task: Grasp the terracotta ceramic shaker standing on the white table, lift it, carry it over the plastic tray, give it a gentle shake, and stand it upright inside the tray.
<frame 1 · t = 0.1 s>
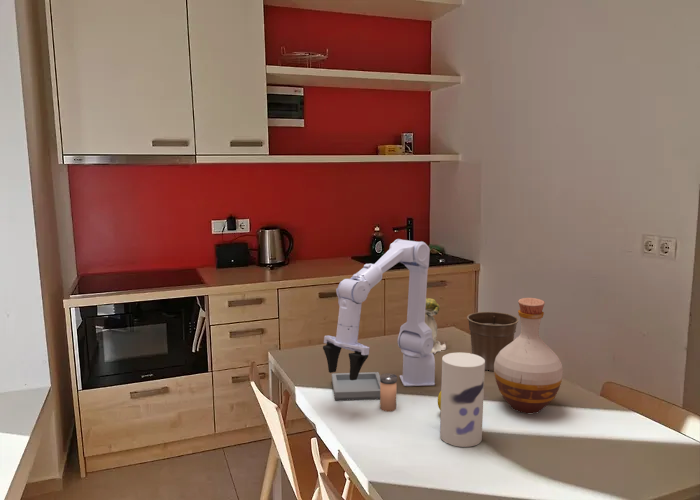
hand: (342, 375, 149), 11 cm above the table, tool pointing down, fingers open, 7 cm apart
shaker: (388, 408, 154), on the table
tray: (357, 389, 166), on the table
jug: (525, 406, 155), on the table
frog: (427, 349, 203), on the table
plant pot: (490, 365, 187), on the table
lemon: (447, 416, 149), on the table
container: (460, 438, 137), on the table
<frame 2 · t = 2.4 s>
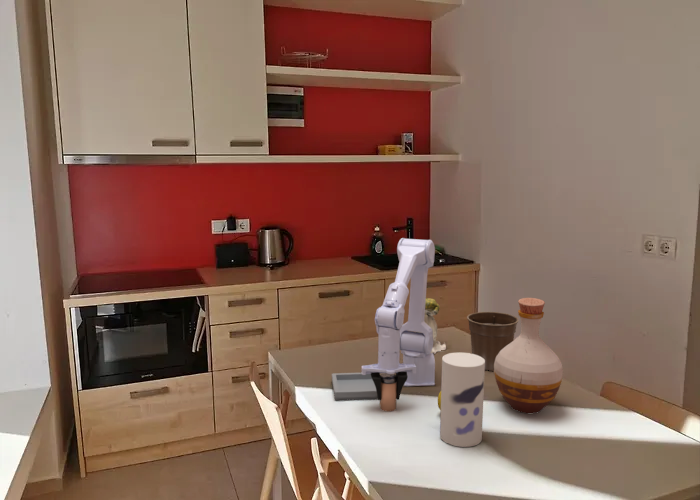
hand: (388, 398, 153), 3 cm above the table, tool pointing down, fingers closed on shaker, 4 cm apart
shaker: (388, 408, 154), on the table, touching gripper
everything else where it was.
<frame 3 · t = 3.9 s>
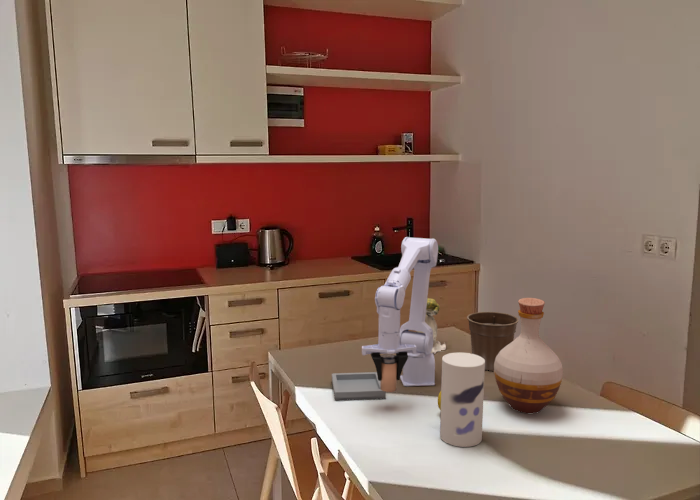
hand: (388, 379, 153), 8 cm above the table, tool pointing down, fingers closed on shaker, 4 cm apart
shaker: (388, 388, 153), point 5 cm above the table, touching gripper
everything else where it was.
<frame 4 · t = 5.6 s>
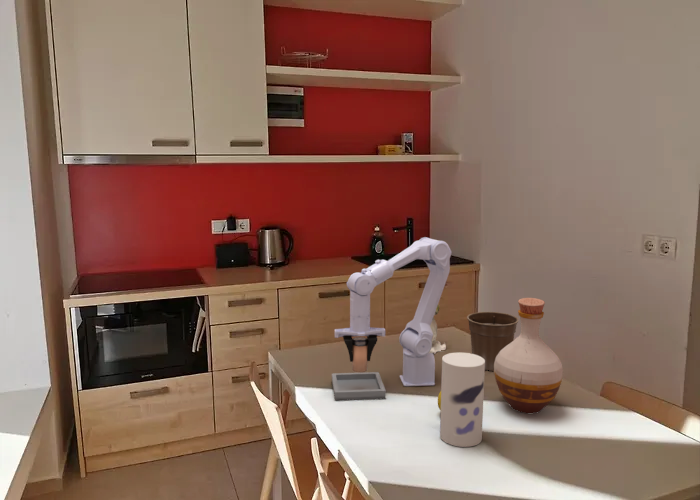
hand: (359, 360, 164), 9 cm above the table, tool pointing down, fingers closed on shaker, 4 cm apart
shaker: (359, 369, 164), point 7 cm above the table, touching gripper
everything else where it was.
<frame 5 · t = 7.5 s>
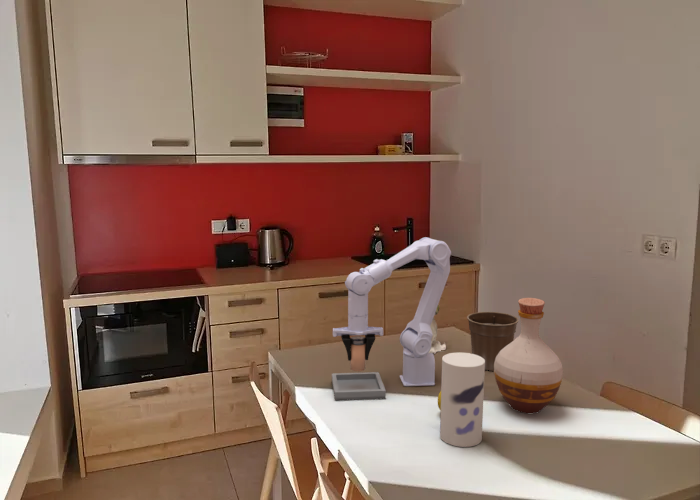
hand: (357, 359, 165), 9 cm above the table, tool pointing down, fingers closed on shaker, 4 cm apart
shaker: (357, 368, 165), point 7 cm above the table, touching gripper
everything else where it was.
when the fingers open (5 cm above the table, at t = 9.2 s): shaker drops 1 cm, resting on tray.
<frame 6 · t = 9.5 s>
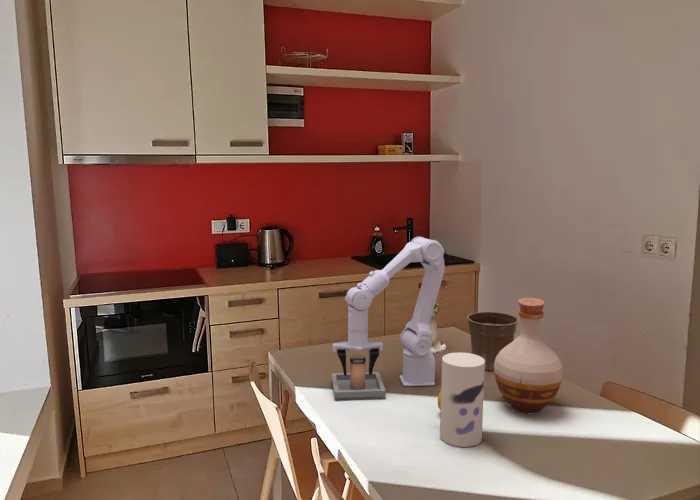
hand: (357, 373, 165), 5 cm above the table, tool pointing down, fingers open, 7 cm apart
shaker: (357, 387, 166), point 1 cm above the table, touching tray
everything else where it was.
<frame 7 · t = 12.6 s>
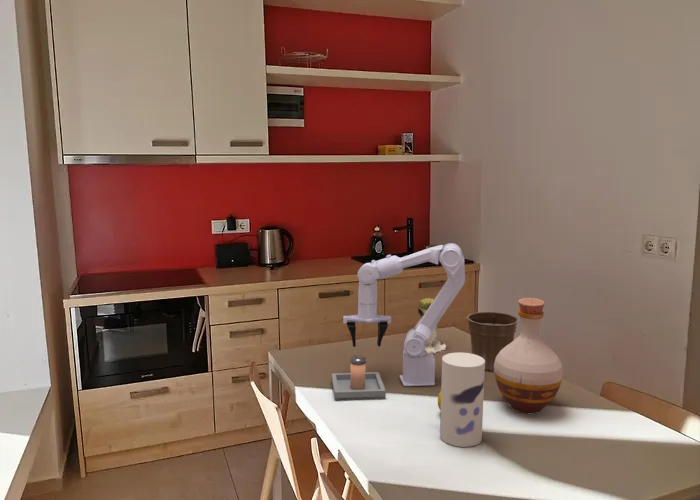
hand: (366, 345, 174), 10 cm above the table, tool pointing down, fingers open, 7 cm apart
nothing on the table moved.
at the end: shaker inside the target area on the tray (0.1 cm from its centre), point 0.8 cm above the tray's base; shaker tilted 1°; the gripper is holding nothing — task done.
